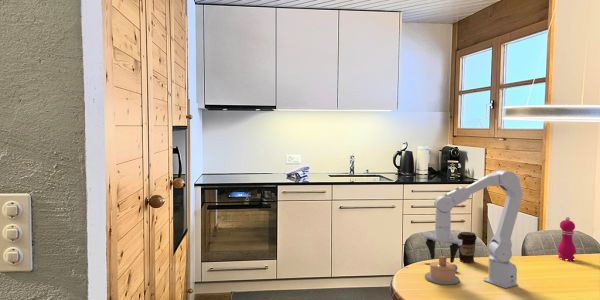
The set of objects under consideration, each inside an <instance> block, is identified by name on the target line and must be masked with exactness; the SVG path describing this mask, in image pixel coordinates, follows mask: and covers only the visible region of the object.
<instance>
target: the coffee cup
mask: <svg viewBox="0 0 600 300" xmlns="http://www.w3.org/2000/svg"><path fill="white" fill-rule="evenodd" d="M477 238H478V236H477V234H476V233H475V232H472V231H471V232H470V231H460V232H459V234H458V235H457V239H460V240H462V245H461V246H460V247H459V248H458V258H459V259H460V260H461V261H460V260H459V259H458V260H459V261H460V262H462V261H465V262H464V263H468V262H471V263H474V262H475V258H474V257H475V252H476V242H477Z"/></svg>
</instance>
